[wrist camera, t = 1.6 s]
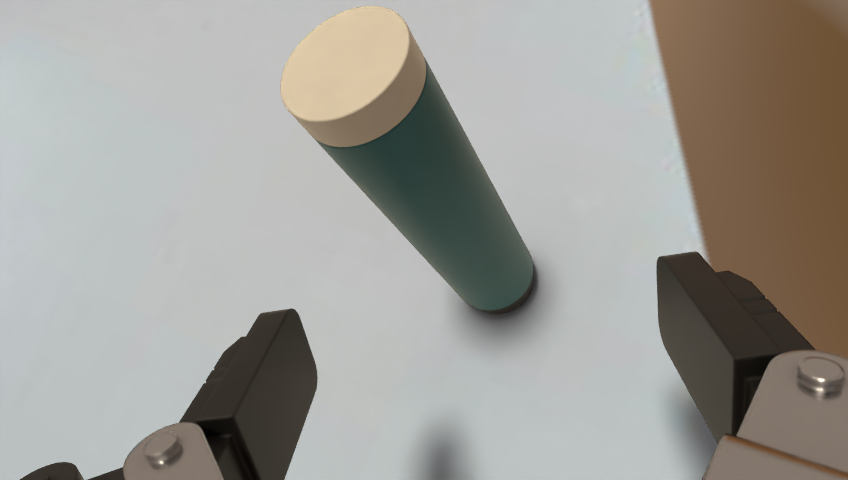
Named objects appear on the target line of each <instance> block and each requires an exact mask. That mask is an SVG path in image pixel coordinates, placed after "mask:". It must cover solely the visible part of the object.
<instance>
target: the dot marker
mask: <svg viewBox="0 0 848 480" xmlns="http://www.w3.org/2000/svg"><path fill="white" fill-rule="evenodd" d="M281 96H282V100H283V103H284V105H285V107H286V108H287V110H288V111H289V112H290V113H291V114H292V115H293V116H294V117H295V118H296V119H297V121H298V122H299V123H300V124H301V125H302V126H303V127H304V128H305V129H306V130H307V131H308V132H309V134H310V135H311V136H312V137H313V138H314V139H315V140H316V141H317V142H318V143H319V144H320V145H321V147H322V148H323V149H324V150H325V151H326V152H327V153H328V154H329V155H330V156H331V157H332V158H333V160H334V161H335V162H336V163H337V164H338V165H339V166H340V167H341V168H342V169H343V170H344V171H345V173H346V174H347V175H348V176H349V177H350V178H351V179H352V180H353V181H354V182H355V183H356V184H357V185H358V187H359V188H360V189H361V190H362V191H363V192H364V193H365V194H366V195H367V196H368V197H369V198H370V200H371V201H372V202H373V203H374V204H375V205H376V206H377V207H378V208H379V209H380V210H381V211H382V213H383V214H384V215H385V216H386V217H387V218H388V219H389V220H390V221H391V222H392V223H393V224H394V226H395V227H396V228H397V229H398V230H399V231H400V232H401V233H402V234H403V235H404V236H405V237H406V239H407V240H408V241H409V242H410V243H411V244H412V245H413V246H414V247H415V248H416V249H417V250H418V251H419V253H420V254H421V255H422V256H423V257H424V258H425V259H426V260H427V261H428V262H429V263H430V264H431V266H432V267H433V268H434V269H435V270H436V271H437V272H438V273H439V274H440V275H441V276H442V277H443V279H444V280H445V281H446V282H447V283H448V284H449V285H450V286H451V287H452V288H453V289H454V290H455V292H456V293H457V294H458V295H459V296H460V297H461V298H462V299H463V300H464V301H465V302H466V303H467V304H469V305H471V306H472V307H475V308H477V309H481V310H482V311H485V312H488V313H493V314H500V313H506V312H509V311H511V310H514V309H515V308H517V307H518V306H520V305H521V304H522V303H523V302H524V301H525V300H526V299H527V297H528V296H529V294H530V292H531V290H532V286H533V262H532V258H531V255H530V253H529V251H528V249H527V247H526V245H525V244H524V242H523V240H522V238H521V236H520V234H519V232H518V231H517V229H516V227H515V225H514V223H513V221H512V219H511V218H510V216H509V214H508V212H507V210H506V208H505V206H504V205H503V203H502V201H501V199H500V197H499V195H498V193H497V191H496V190H495V188H494V186H493V184H492V182H491V180H490V178H489V177H488V175H487V173H486V171H485V169H484V167H483V165H482V164H481V162H480V160H479V158H478V156H477V154H476V152H475V151H474V149H473V147H472V145H471V143H470V141H469V139H468V138H467V136H466V134H465V132H464V130H463V128H462V126H461V124H460V123H459V121H458V119H457V117H456V115H455V113H454V111H453V110H452V108H451V106H450V104H449V102H448V100H447V98H446V97H445V95H444V93H443V91H442V89H441V87H440V85H439V84H438V82H437V80H436V78H435V76H434V74H433V72H432V70H431V69H430V67H429V65H428V63H427V61H426V59H425V57H424V56H423V54H422V52H421V50H420V48H419V46H418V44H417V43H416V41H415V39H414V37H413V35H412V33H411V31H410V30H409V28H408V26H407V24H406V22H405V21H404V19H403V18H402V17H401V16H400V15H399V14H397V13H396V12H394V11H392V10H390V9H388V8H384V7H380V6H364V7H357V8H354V9H350V10H347V11H344V12H342V13H339V14H337V15H335V16H333V17H331V18H330V19H328V20H326V21H325V22H323V23H322V24H320V25H319V26H318V27H316V28H315V29H314V30H312V31H311V32H310V33H309V34H308V35H307V36H306V37H305V38H304V39H303V40H302V41H301V42H300V43H299V45H298V46H297V47H296V49H295V50H294V51H293V53H292V54H291V56H290V58H289V60H288V61H287V63H286V66H285V68H284V71H283V74H282V78H281Z"/></svg>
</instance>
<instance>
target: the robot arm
mask: <svg viewBox="0 0 848 480" xmlns="http://www.w3.org/2000/svg"><path fill="white" fill-rule="evenodd" d="M657 295H658V321H659V328H660V333H661V337H662V341H663V344H664V346H665V349H666V351H667V352H668V354H669V356H670V358H671V360H672V362H673V363H674V365H675V367H676V369H677V371H678V373H679V374H680V376H681V378H682V380H683V382H684V384H685V385H686V387H687V389H688V391H689V393H690V395H691V396H692V398H693V400H694V402H695V404H696V406H697V407H698V409H699V411H700V413H701V415H702V417H703V418H704V420H705V422H706V424H707V426H708V428H709V429H710V431H711V433H712V435H713V437H714V439H715V440H716V442H717V444H718V446H717V448H716V450H715V452H714V455H713V457H712V459H711V461H710V463H709V465H708V467H707V469H706V472H705V474H704V476H703V478H702V480H848V358H845V357H843V356H840V355H837V354H833V353H829V352H824V351H817V350H815V349H814V348H813V346H812V345H811V344H810V343H809V342H808V341H807V340H806V339H805V338H804V337H803V336H802V335H801V334H800V333H799V332H798V331H797V330H796V328H795V327H794V326H793V325H791V323H790V322H789V321H788V320H787V319H786V318H785V317H784V316H783V315H782V314H781V313H780V312H777V309H776V307H774V305H773V304H772V303H771V302H770V301H769V300H768V299H765V296H764V295H763V294H762V293H761V292H760V291H759V290H758V288H756V286H755V285H754V284H753V283H752V282H751V281H749V280H747V279H745V278H742V277H740V276H738V275H736V274H734V273H732V272H730V271H723V272H717V273H715V271H714V270H713V269H712V268H711V267H710V266H709V264H708V263H707V262H706V261H705V260H704V259H703V257H702V256H701V255H700V254H699V253H698V252H689V253H682V254H675V255H668V256H661V257H659V258H658V260H657ZM214 369H215V370H212V372H211V373H210V375H209V376H208V378H207V379H206V383H204V384H203V386H202V387H201V389H200V390H199V392H198V394H197V395H196V397H195V398H194V400H193V401H192V403H191V405H190V406H189V408H188V409H187V411H186V412H185V414H184V416H183V417H182V419H181V420H180V422H179V423H176V424H172V425H169V426H166V427H164V428H162V429H159V430H157V431H156V432H154V433H152V434H150V435H149V436H147V437H146V438H145V439H143V440H142V441H141V442H140V443H138V444H137V445H136V446H135V447H134V448H133V450H132V451H131V452H130V453H129V455H128V456H127V458H126V460H125V462H124V466H123V468H120V469H117V470H114V471H111V472H108V473H105V474H102V475H100V476H97V477H94V478H91V479H88V480H284V479H285V476H286V473H287V470H288V468H289V465H290V462H291V459H292V456H293V454H294V451H295V448H296V445H297V442H298V440H299V437H300V434H301V431H302V428H303V426H304V423H305V420H306V417H307V414H308V411H309V409H310V406H311V403H312V400H313V397H314V395H315V392H316V388H317V369H316V364H315V361H314V358H313V355H312V352H311V349H310V346H309V343H308V340H307V337H306V334H305V331H304V329H303V326H302V323H301V320H300V317H299V315H298V313H297V312H296V310H294V309H286V310H279V311H272V312H265V313H261V314H260V315H259V316H258V318H257V319H256V321H255V323H254V324H253V326H252V328H251V329H250V331H249V333H248V334H247V336H246V337H241V338H240V339H238V340H237V341H236V342H235V343H234V344H233V345H232V346H230V347H229V348H228V349H227V350H226V351H225V352H224V353H223V354H222V356H221V358H220V359H219V361H218V362H217V364H216V365H215V367H214ZM20 480H84V479H83V477H82V475H81V474H80V472H79V470H78V469H77V467H76V466H75V465H74V464H72V463H68V462H61V463H55V464H51V465H48V466H45V467H42V468H40V469H38V470H36V471H34V472H32V473H30V474H28V475H26V476H25V477H23V478H22V479H20Z"/></svg>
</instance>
